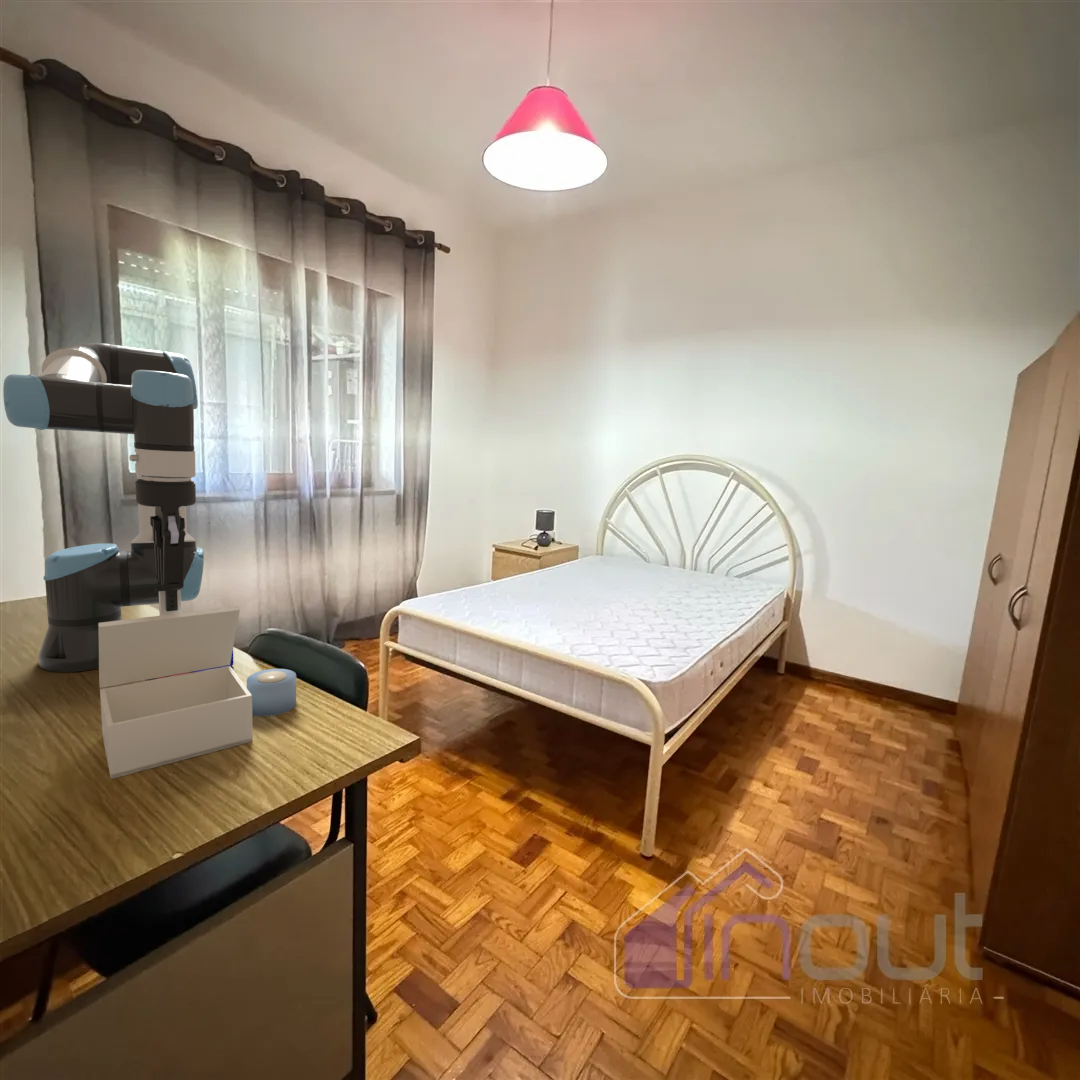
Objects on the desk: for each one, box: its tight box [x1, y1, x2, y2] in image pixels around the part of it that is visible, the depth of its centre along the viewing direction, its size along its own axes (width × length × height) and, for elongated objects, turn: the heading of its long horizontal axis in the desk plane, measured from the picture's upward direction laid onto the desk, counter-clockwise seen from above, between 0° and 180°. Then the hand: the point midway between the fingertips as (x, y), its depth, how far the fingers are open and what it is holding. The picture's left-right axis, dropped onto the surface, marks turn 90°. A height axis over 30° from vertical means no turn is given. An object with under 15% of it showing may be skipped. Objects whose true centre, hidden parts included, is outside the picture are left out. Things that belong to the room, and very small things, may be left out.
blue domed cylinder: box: [246, 668, 297, 717], centre depth 101 cm, size 8×8×6 cm
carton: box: [99, 666, 254, 780], centre depth 88 cm, size 14×18×8 cm
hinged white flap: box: [98, 606, 241, 689], centre depth 89 cm, size 14×18×1 cm
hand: (171, 628), depth 88 cm, fingers closed
